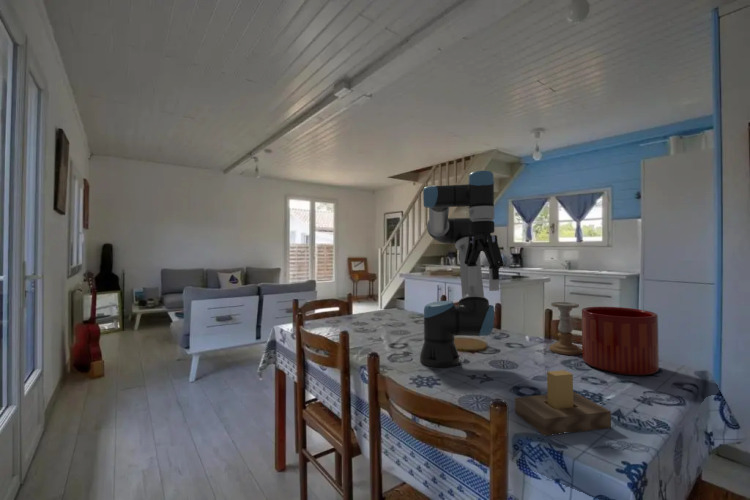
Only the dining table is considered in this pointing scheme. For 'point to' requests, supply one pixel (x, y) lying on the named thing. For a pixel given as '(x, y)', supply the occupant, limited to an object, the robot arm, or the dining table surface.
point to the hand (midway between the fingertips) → (482, 288)
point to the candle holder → (565, 330)
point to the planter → (620, 340)
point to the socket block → (562, 415)
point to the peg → (560, 389)
